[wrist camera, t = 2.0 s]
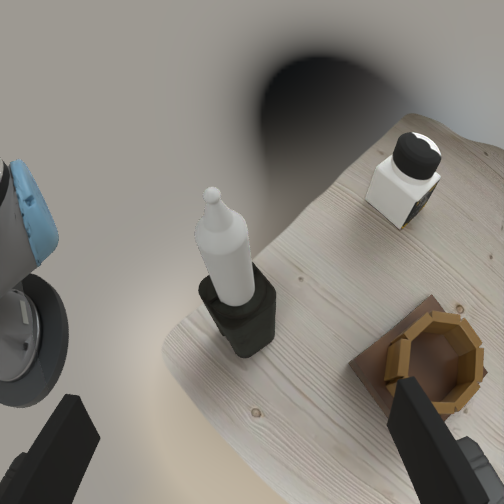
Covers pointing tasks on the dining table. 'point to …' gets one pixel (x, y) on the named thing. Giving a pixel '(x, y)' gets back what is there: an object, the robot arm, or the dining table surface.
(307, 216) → the dining table surface
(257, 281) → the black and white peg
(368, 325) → the dining table surface
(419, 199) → the medicine bottle
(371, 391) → the stand
